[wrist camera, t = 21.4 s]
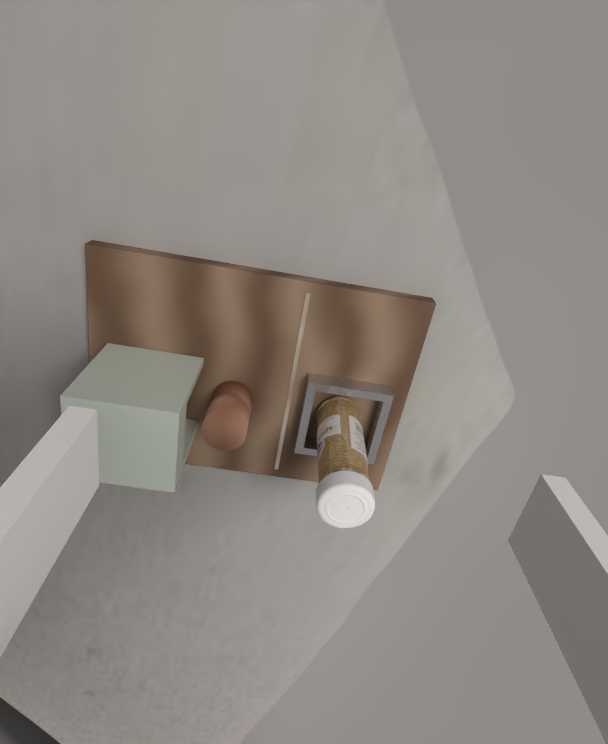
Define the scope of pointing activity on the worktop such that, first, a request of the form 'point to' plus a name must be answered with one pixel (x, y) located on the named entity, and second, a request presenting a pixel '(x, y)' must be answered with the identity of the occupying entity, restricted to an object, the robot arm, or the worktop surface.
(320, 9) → the worktop surface
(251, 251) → the worktop surface
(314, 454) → the socket
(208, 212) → the worktop surface
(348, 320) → the board
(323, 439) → the sprinkles bottle
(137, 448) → the cover
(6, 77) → the worktop surface
